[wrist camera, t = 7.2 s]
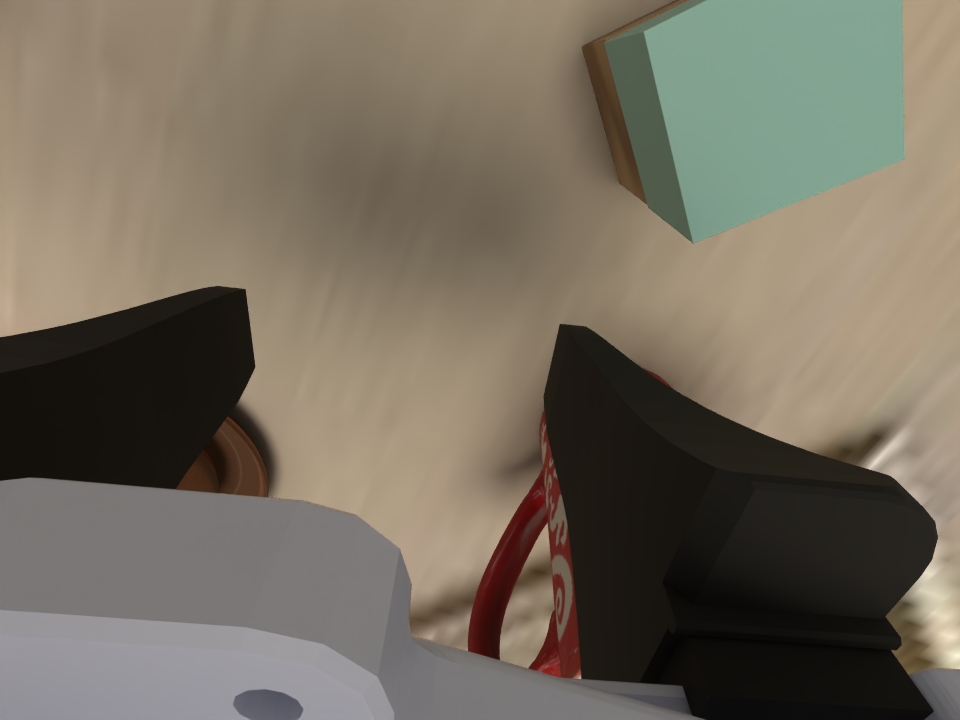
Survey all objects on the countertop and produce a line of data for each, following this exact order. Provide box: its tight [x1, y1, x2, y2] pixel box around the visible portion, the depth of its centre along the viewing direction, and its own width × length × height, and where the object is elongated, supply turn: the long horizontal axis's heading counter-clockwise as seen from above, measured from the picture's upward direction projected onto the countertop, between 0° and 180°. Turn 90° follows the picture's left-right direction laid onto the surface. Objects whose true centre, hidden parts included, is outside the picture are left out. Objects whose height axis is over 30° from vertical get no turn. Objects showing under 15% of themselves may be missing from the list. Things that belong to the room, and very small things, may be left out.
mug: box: [468, 371, 671, 679], centre depth 20 cm, size 13×9×14 cm
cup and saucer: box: [176, 417, 268, 497], centre depth 24 cm, size 12×12×6 cm
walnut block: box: [582, 0, 688, 204], centre depth 16 cm, size 5×5×4 cm
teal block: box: [604, 0, 905, 243], centre depth 13 cm, size 5×5×4 cm
